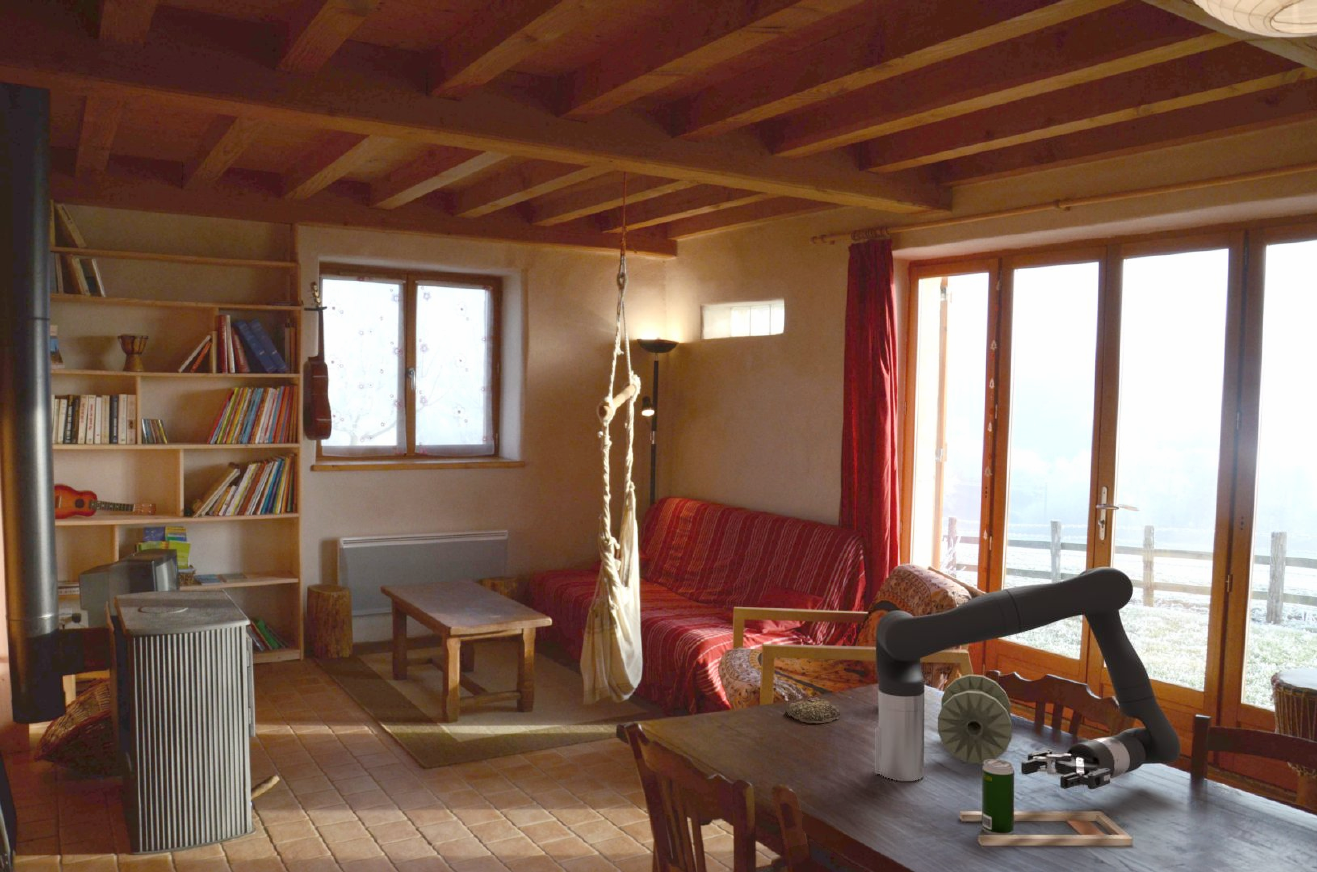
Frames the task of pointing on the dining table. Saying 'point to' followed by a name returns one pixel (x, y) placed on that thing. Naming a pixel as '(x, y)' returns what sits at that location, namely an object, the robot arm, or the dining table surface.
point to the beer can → (998, 797)
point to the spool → (975, 719)
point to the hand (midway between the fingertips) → (1042, 775)
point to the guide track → (1074, 818)
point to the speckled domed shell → (813, 709)
